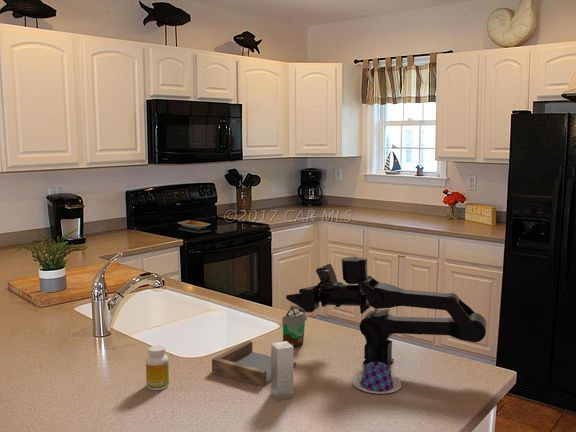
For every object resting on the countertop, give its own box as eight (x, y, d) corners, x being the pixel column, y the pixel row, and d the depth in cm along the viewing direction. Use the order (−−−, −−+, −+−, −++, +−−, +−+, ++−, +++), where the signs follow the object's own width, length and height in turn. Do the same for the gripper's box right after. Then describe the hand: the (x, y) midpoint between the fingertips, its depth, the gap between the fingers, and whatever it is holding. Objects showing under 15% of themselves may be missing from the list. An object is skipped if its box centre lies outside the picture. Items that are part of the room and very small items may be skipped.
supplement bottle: (168, 390, 137) (167, 351, 136) (145, 391, 136) (144, 352, 135) (169, 380, 142) (168, 343, 141) (147, 382, 141) (146, 344, 140)
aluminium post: (286, 390, 137) (286, 341, 135) (293, 397, 133) (293, 346, 132) (271, 393, 136) (271, 343, 134) (277, 400, 132) (277, 349, 130)
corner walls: (296, 362, 153) (296, 352, 152) (262, 384, 139) (262, 372, 139) (248, 350, 161) (248, 340, 160) (212, 370, 147) (211, 359, 147)
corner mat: (296, 364, 153) (296, 362, 153) (262, 386, 139) (262, 384, 139) (248, 352, 161) (248, 350, 161) (212, 372, 147) (212, 370, 147)
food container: (303, 352, 162) (303, 318, 160) (282, 350, 163) (282, 317, 161) (310, 337, 174) (310, 306, 172) (290, 336, 175) (290, 304, 173)
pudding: (361, 372, 149) (362, 353, 148) (406, 381, 144) (407, 361, 143) (345, 390, 138) (345, 369, 138) (393, 400, 133) (394, 379, 132)
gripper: (353, 261, 164) (303, 261, 170) (331, 271, 147) (277, 271, 154) (355, 299, 164) (306, 298, 171) (333, 313, 147) (279, 311, 154)
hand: (293, 294), depth 162 cm, fingers open, 9 cm apart
